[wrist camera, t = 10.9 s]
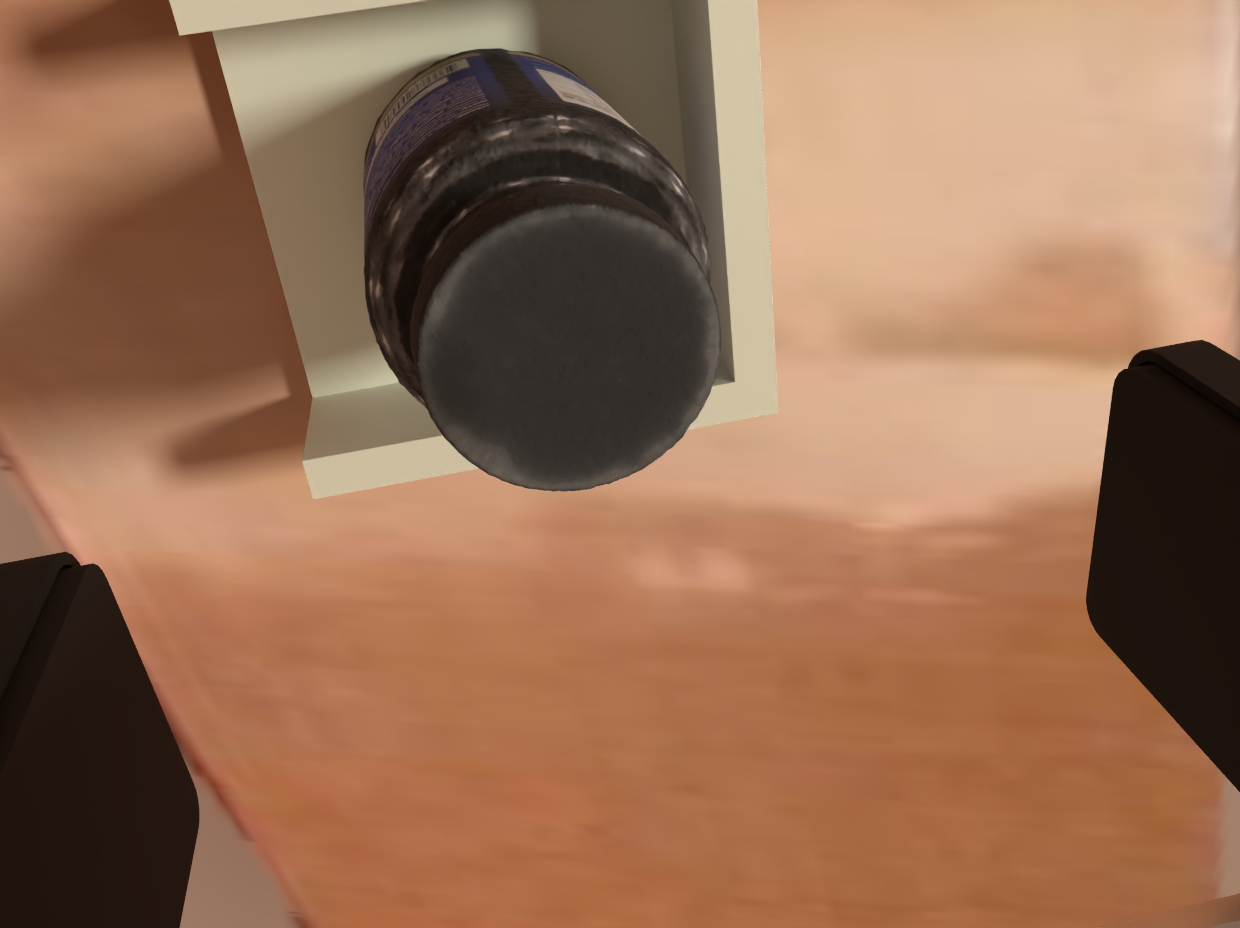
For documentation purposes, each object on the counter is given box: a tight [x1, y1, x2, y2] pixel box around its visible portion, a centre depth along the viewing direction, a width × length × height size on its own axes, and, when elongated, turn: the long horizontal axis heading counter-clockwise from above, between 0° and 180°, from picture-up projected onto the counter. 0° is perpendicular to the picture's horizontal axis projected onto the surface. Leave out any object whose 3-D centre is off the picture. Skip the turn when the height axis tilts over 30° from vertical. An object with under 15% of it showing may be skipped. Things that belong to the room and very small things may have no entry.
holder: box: [169, 0, 778, 499], centre depth 25 cm, size 11×11×4 cm
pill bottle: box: [363, 48, 721, 491], centre depth 21 cm, size 6×6×11 cm
